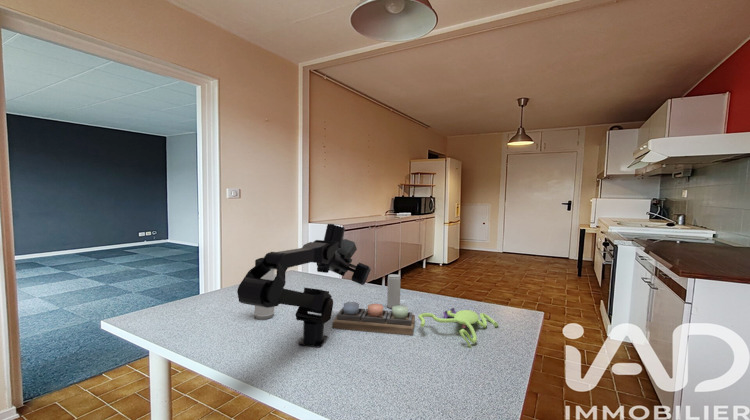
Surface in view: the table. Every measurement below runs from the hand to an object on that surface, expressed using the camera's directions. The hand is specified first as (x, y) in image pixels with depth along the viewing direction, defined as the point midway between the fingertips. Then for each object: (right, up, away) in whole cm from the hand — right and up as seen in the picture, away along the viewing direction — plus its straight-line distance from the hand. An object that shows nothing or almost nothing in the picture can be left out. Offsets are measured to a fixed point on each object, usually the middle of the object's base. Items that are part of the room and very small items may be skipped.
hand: (352, 271), depth 115 cm
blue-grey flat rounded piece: (0, -12, -8) cm, 14 cm away
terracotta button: (+8, -12, -10) cm, 17 cm away
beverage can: (+15, -15, +7) cm, 22 cm away
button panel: (+8, -15, -10) cm, 20 cm away
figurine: (+34, -16, -12) cm, 40 cm away
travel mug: (-30, -15, -4) cm, 33 cm away
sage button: (+16, -12, -11) cm, 23 cm away
